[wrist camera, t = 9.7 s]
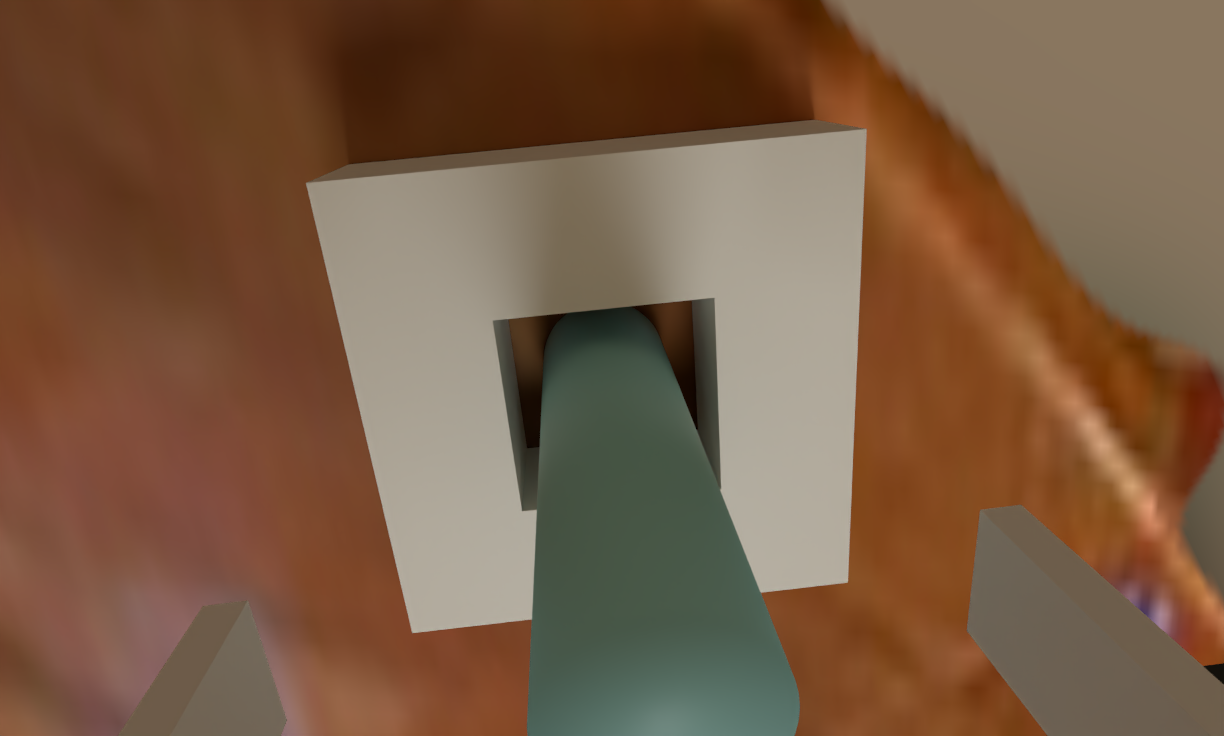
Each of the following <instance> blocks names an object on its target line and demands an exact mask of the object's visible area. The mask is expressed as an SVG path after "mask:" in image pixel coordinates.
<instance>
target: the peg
mask: <svg viewBox="0 0 1224 736" xmlns="http://www.w3.org/2000/svg"><path fill="white" fill-rule="evenodd" d="M799 710H800V704H799V693H798V689H797V685H796V681H795V679H794V676H793V674H792V671H791V668H790V666H789V663H788V661H787V658H786V656H785V653H784V651H783V648H782V646H781V643H780V641H779V638H778V635H777V633H776V630H775V628H774V625H773V623H772V620H771V618H770V615H769V613H768V610H767V608H766V605H765V603H764V600H763V597H762V595H761V592H760V590H759V587H758V585H757V582H756V580H755V577H754V575H753V572H752V570H751V567H750V565H749V562H748V559H747V557H746V554H745V552H744V549H743V547H742V544H741V542H740V539H739V537H738V534H737V532H736V529H735V526H734V524H733V521H732V519H731V516H730V514H729V511H728V509H727V506H726V504H725V501H724V499H723V496H722V494H721V491H720V488H719V486H718V483H717V481H716V478H715V476H714V473H713V471H712V468H711V466H710V463H709V461H708V458H707V455H706V453H705V450H704V448H703V445H702V443H701V440H700V438H699V435H698V433H697V430H696V428H695V425H694V423H693V420H692V417H691V415H690V412H689V410H688V407H687V405H686V402H685V400H684V397H683V395H682V392H681V390H680V387H679V385H678V382H677V379H676V377H675V374H674V372H673V369H672V367H671V364H670V362H669V359H668V357H667V354H666V352H665V349H664V346H663V344H662V341H661V339H660V337H659V334H658V332H657V330H656V329H655V327H654V325H653V324H652V323H651V322H650V320H649V319H648V318H647V317H646V316H644V315H643V314H642V313H641V312H639V311H638V310H636V309H634V308H632V307H630V306H629V307H619V308H610V309H600V310H590V311H581V312H571V313H567V314H566V315H565V316H563V317H562V318H561V319H560V320H559V321H558V322H557V323H556V325H555V326H554V327H553V329H552V331H551V332H550V334H549V336H548V339H547V341H546V345H545V349H544V362H543V384H542V406H541V428H540V450H539V473H538V495H537V517H536V539H535V561H534V584H533V606H532V628H531V650H530V672H529V694H528V717H527V733H528V736H794V735H795V732H796V728H797V725H798V721H799Z"/></svg>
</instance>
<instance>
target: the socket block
mask: <svg viewBox="0 0 1224 736" xmlns="http://www.w3.org/2000/svg"><path fill="white" fill-rule="evenodd" d="M866 130H867V129H864V128H858V127H853V126H847V125H842V124H836V123H831V122H825V121H819V120H807V121H797V122H786V123H776V124H765V125H755V126H744V127H734V128H724V129H713V130H703V131H692V132H682V133H671V134H661V135H650V136H640V137H630V138H619V139H609V140H598V141H588V142H577V143H567V144H556V145H546V146H536V147H525V148H515V149H504V150H494V151H483V152H473V153H462V154H452V155H442V156H431V157H421V158H410V159H400V160H389V161H379V162H368V163H358V164H348V165H346V166H344V167H341V168H339V169H337V170H335V171H332V172H330V173H328V174H325V175H323V176H321V177H319V178H316V179H314V180H312V181H309V182H307V183H306V185H307V189H308V193H309V198H310V202H311V206H312V210H313V215H314V219H315V223H316V227H317V231H318V236H319V240H320V244H321V248H322V253H323V257H324V261H325V265H326V270H327V274H328V278H329V282H330V286H331V291H332V295H333V299H334V303H335V308H336V312H337V316H338V320H339V325H340V329H341V333H342V337H343V341H344V346H345V350H346V354H347V358H348V363H349V367H350V371H351V375H352V380H353V384H354V388H355V392H356V396H357V401H358V405H359V409H360V413H361V418H362V422H363V426H364V430H365V435H366V439H367V443H368V447H369V452H370V456H371V460H372V464H373V468H374V473H375V477H376V481H377V485H378V490H379V494H380V498H381V502H382V507H383V511H384V515H385V519H386V523H387V528H388V532H389V536H390V540H391V545H392V549H393V553H394V557H395V562H396V566H397V570H398V574H399V578H400V583H401V587H402V591H403V595H404V600H405V604H406V608H407V612H408V617H409V621H410V625H411V629H412V633H417V632H426V631H435V630H443V629H452V628H460V627H469V626H478V625H486V624H495V623H503V622H512V621H521V620H529V619H532V606H533V584H534V561H535V539H536V517H537V495H538V473H539V450H540V447H535V448H527V445H526V438H525V431H524V424H523V417H522V410H521V403H520V396H519V390H518V383H517V376H516V369H515V362H514V355H513V348H512V342H511V335H510V328H509V321H508V319H513V318H522V317H532V316H542V315H552V314H561V313H571V312H581V311H590V310H600V309H610V308H619V307H629V306H639V305H648V304H658V303H668V302H678V301H687V300H692V317H693V339H694V360H695V381H696V402H697V423H698V430H697V433H698V435H699V438H700V440H701V443H702V445H703V448H704V450H705V453H706V455H707V458H708V461H709V463H710V466H711V468H712V471H713V473H714V476H715V478H716V481H717V483H718V486H719V488H720V491H721V494H722V496H723V499H724V501H725V504H726V506H727V509H728V511H729V514H730V516H731V519H732V521H733V524H734V526H735V529H736V532H737V534H738V537H739V539H740V542H741V544H742V547H743V549H744V552H745V554H746V557H747V559H748V562H749V565H750V567H751V570H752V572H753V575H754V577H755V580H756V582H757V585H758V587H759V590H760V592H770V591H779V590H787V589H796V588H804V587H813V586H822V585H830V584H839V583H847V582H848V565H849V541H850V517H851V492H852V468H853V444H854V420H855V396H856V372H857V348H858V323H859V299H860V275H861V251H862V227H863V203H864V178H865V154H866Z"/></svg>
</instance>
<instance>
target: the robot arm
mask: <svg viewBox="0 0 1224 736" xmlns="http://www.w3.org/2000/svg"><path fill="white" fill-rule="evenodd" d="M967 632H968V633H969V634H970V636H971V637H972V638H973V639H974V641H975V642H976V643H977V645H978V646H979V647H980V648H981V650H982V651H983V652H984V654H985V655H986V656H987V658H988V659H989V660H990V661H991V663H992V664H993V665H994V667H995V668H996V669H997V671H998V672H999V673H1000V674H1001V676H1002V677H1003V678H1004V680H1005V681H1006V682H1007V684H1008V685H1009V686H1010V687H1011V689H1012V690H1013V691H1014V693H1015V694H1016V695H1017V697H1018V698H1019V699H1020V700H1021V702H1022V703H1023V704H1024V706H1025V707H1026V708H1027V709H1028V711H1029V712H1030V713H1031V715H1032V716H1033V717H1034V719H1035V720H1036V721H1037V722H1038V724H1039V725H1040V726H1041V728H1042V729H1043V730H1044V732H1045V733H1046V734H1047V735H1048V736H1224V663H1223V664H1216V665H1208V666H1202V665H1201V664H1200V663H1199V662H1198V661H1197V660H1195V659H1194V658H1193V657H1192V656H1191V655H1190V654H1189V653H1188V652H1186V651H1185V650H1184V649H1183V648H1182V647H1181V646H1180V645H1178V644H1177V643H1176V642H1175V641H1174V640H1173V639H1172V638H1171V637H1169V636H1168V635H1167V634H1166V633H1165V632H1164V631H1163V630H1162V629H1160V628H1159V627H1158V626H1157V625H1156V624H1155V623H1154V622H1153V621H1151V620H1150V619H1149V618H1148V617H1147V616H1146V615H1145V614H1143V613H1142V612H1141V611H1140V610H1139V609H1138V608H1137V607H1136V606H1134V605H1133V604H1132V603H1131V602H1130V601H1129V600H1128V599H1127V598H1125V597H1124V596H1123V595H1122V594H1121V593H1120V592H1119V591H1118V590H1116V589H1115V588H1114V587H1113V586H1112V585H1111V584H1110V583H1109V582H1107V581H1106V580H1105V579H1104V578H1103V577H1102V576H1101V575H1099V574H1098V573H1097V572H1096V571H1095V570H1094V569H1093V568H1092V567H1090V566H1089V565H1088V564H1087V563H1086V562H1085V561H1084V560H1083V559H1081V558H1080V557H1079V556H1078V555H1077V554H1076V553H1075V552H1074V551H1072V550H1071V549H1070V548H1069V547H1068V546H1067V545H1066V544H1064V543H1063V542H1062V541H1061V540H1060V539H1059V538H1058V537H1057V536H1055V535H1054V534H1053V533H1052V532H1051V531H1050V530H1049V529H1048V528H1046V527H1045V526H1044V525H1043V524H1042V523H1041V522H1040V521H1039V520H1037V519H1036V518H1035V517H1034V516H1033V515H1032V514H1031V513H1029V512H1028V511H1027V510H1026V509H1025V508H1024V507H1023V506H1022V505H1016V506H1008V507H1000V508H992V509H984V510H980V517H979V526H978V535H977V544H976V553H975V562H974V571H973V580H972V589H971V598H970V607H969V616H968V625H967ZM286 721H287V719H286V716H285V713H284V710H283V707H282V704H281V701H280V697H279V694H278V691H277V688H276V685H275V682H274V679H273V676H272V673H271V670H270V667H269V664H268V661H267V658H266V655H265V652H264V649H263V645H262V642H261V639H260V636H259V633H258V630H257V627H256V624H255V621H254V618H253V615H252V612H251V609H250V606H249V603H248V601H241V602H232V603H224V604H216V605H208V606H203V607H202V608H201V610H200V611H199V613H198V614H197V616H196V617H195V619H194V621H193V622H192V624H191V625H190V627H189V628H188V630H187V631H186V633H185V634H184V636H183V637H182V639H181V640H180V642H179V643H178V645H177V646H176V648H175V650H174V651H173V653H172V654H171V656H170V657H169V659H168V660H167V662H166V663H165V665H164V666H163V668H162V669H161V671H160V672H159V674H158V676H157V677H156V679H155V680H154V682H153V683H152V685H151V686H150V688H149V689H148V691H147V692H146V694H145V695H144V697H143V698H142V700H141V701H140V703H139V705H138V706H137V708H136V709H135V711H134V712H133V714H132V715H131V717H130V718H129V720H128V721H127V723H126V724H125V726H124V727H123V729H122V730H121V732H120V734H119V735H118V736H281V734H282V731H283V729H284V726H285V724H286Z"/></svg>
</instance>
